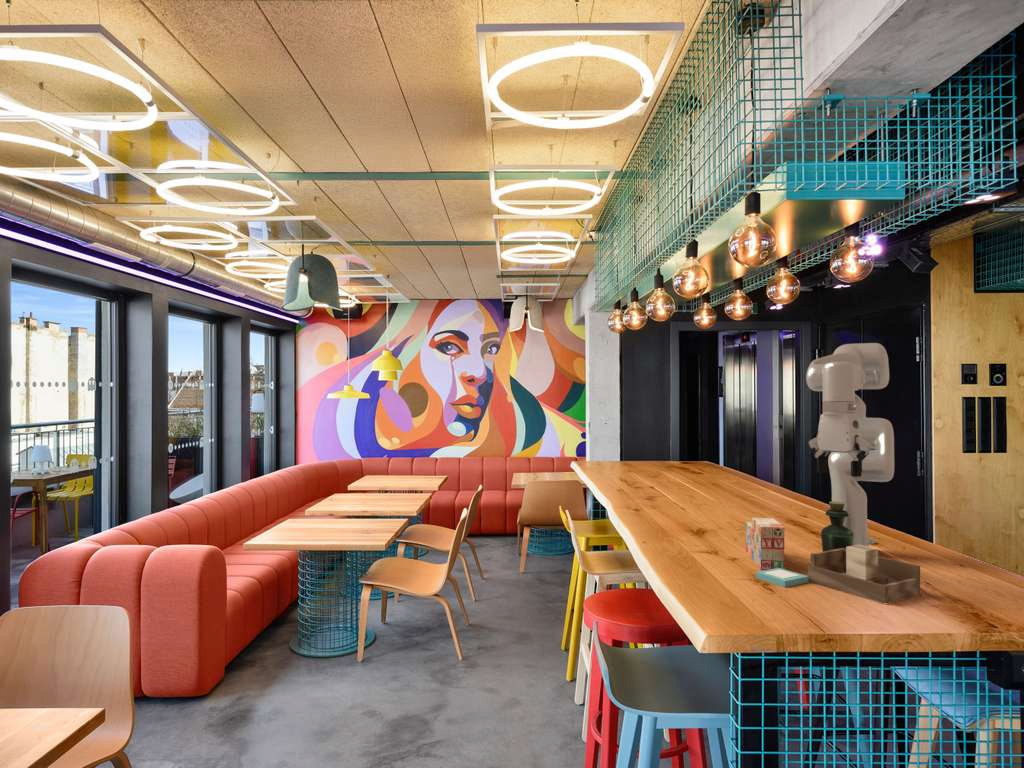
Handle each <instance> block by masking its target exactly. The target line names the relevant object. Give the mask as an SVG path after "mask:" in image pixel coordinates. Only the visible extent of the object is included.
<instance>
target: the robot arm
mask: <svg viewBox="0 0 1024 768" xmlns="http://www.w3.org/2000/svg"><path fill="white" fill-rule="evenodd" d="M888 356H889V355H888V353H887V350H886V348H885V346H883V345H882V344H881V343H879V342H866V343H864V342H863V343H861V342H860V343H846V344H845V343H844V344H842V345H840V346H838V347H837V348H835V350H834V351H833V353H832V354H829V355H825V356H821V357H818V358H816V359H813V360H812V361H811V362H810V364H809V365H808V367H807V370H806V374H805V375H806V376H805V379H806V380H805V381H806V385H807V386H808V388H809V389H810V390H812V391H814V392H822V414H821V413H820V416H819V422H818V430H817V436H816V437H814V438H812V439H810V440H809V441H808V445H809V448H810V449H811V452H812V454H813V455H814V457H815V459H816V471H817V472H816V473H817V474H827V473H828V469H829V476H830V481H831V482H830V483H831V502H842V503H844V507H843V510H844V511H847V512H848V515H849V516H848V517H845V518H844V522H843V526H844V527H846V528H848V529H849V530H851V531H852V533H853V545H863V546H867V547H869V545H873V544H875V542H876V540H875V538H874V537H872V536H871V537H869V536H868V497H867V492H866V491H865V490H864V489H863V488H862V486H861V485H860V484H859V483H858V482H879V483H885V482H886V483H887V482H889V481H891V480H892V479H893V478H894V474H895V433H894V428H893V424H892V423H891V421H890V420H889V419H886V418H881V417H867V415H866V414H867V405H866V403H865V402H864V401H863V400H862V398H861V397H860V396H859V395H857V394H856V393H855V392H856V391H859V390H881V389H884V388H886V387H888V384H889V381H890V366H889V357H888ZM826 456H828V458H827V457H826ZM853 545H852V546H853Z"/></svg>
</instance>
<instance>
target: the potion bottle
mask: <svg viewBox="0 0 1024 768" xmlns="http://www.w3.org/2000/svg"><path fill="white" fill-rule="evenodd" d="M828 503H829V508H830V509H826V510H825V514H824V515H826V516H827V517H828V518H829V520H830V521H829V522H830V524H829V525H827V526H825V527H823V528H822V530H821V532H820V537H821V546H822V547H821V548H822V552H823V551H829V550H834V549H840V548H844V549H846V547H848V546H852V545H853V533H852V531H851V530H849V529H848V528H846V527H844V526H843V522H844V518H845V517H848V516H849V515H848V512H847V511H844V510H843V507H844V503H842V502H832V501H829V502H828Z"/></svg>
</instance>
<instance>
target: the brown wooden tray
mask: <svg viewBox="0 0 1024 768" xmlns="http://www.w3.org/2000/svg"><path fill="white" fill-rule="evenodd" d="M807 576H809V582H808V583H813V584H815V585H817V586H821V587H822V586H823V587H826V588H829V589H832V590H836V591H839V592H842V591H843V592H842V593H846V594H848V595H849V594H850V595H852V594H853V595H854V596H856V597H859V596H860V598H862V597H863V599H866V600H869V599H870V601H873V600H874V601H873V602H876V601H878V602H877V603H879V602H882V603H881V604H883V603H888V604H890V603H889V602H892V603H894V602H893V601H896V602H898V601H897V600H900V601H902V600H901V599H904V600H906V599H905V598H908V599H911V598H914V596H915V597H919V596H921V565H918V564H917V565H916V564H913V563H908V562H904V561H900V560H896V559H892V558H887V557H882V556H879V555H878V577H877V578H872V579H868V580H864V579H860V578H857V577H853V576H849V575H846V549H844V548H840V549H834V550H829V551H823V550H822V551H818V552H812V553H810V565H807ZM918 595H919V596H918ZM910 597H911V598H910Z"/></svg>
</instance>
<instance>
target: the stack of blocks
mask: <svg viewBox="0 0 1024 768" xmlns="http://www.w3.org/2000/svg"><path fill="white" fill-rule="evenodd" d="M744 525H745V548H746V549H745V551H746V552H747V554H748V556H749V555H750V556H749V557H750V558H751V559H752V561H753V560H754V561H755V562H754V561H753V562H754V563H755V564H757V565H758V566H757V565H756V566H757V567H758V569H759V568H760V569H759V571H765V570H770V569H775V568H781V569H785V526H783V525H782V523H781V522H778V521H777V520H776V519H774V518H772V517H771V518H770V517H751V521H745V524H744Z"/></svg>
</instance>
